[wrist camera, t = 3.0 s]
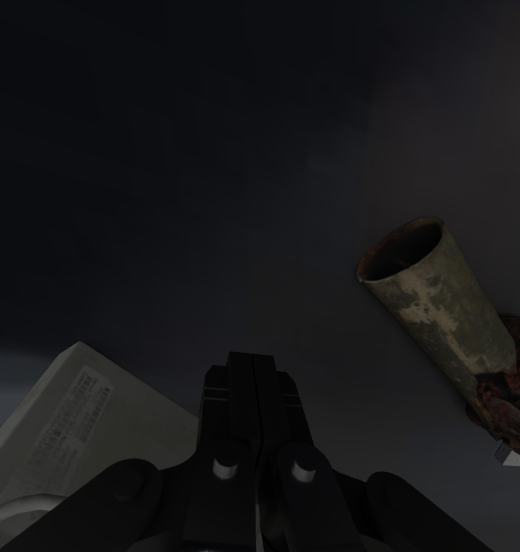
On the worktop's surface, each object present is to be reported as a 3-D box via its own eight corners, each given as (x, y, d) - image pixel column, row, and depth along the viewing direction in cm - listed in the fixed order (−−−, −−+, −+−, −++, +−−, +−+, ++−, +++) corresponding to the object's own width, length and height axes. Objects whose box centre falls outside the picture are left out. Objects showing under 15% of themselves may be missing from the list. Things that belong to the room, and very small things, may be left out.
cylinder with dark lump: (343, 263, 19) (388, 308, 14) (442, 185, 18) (531, 201, 13) (473, 424, 25) (538, 497, 20) (553, 373, 24) (645, 437, 19)
